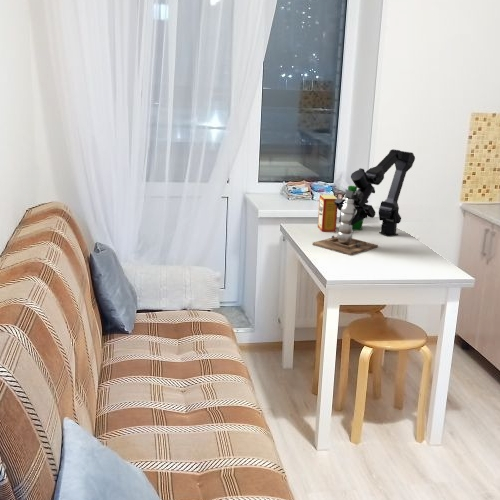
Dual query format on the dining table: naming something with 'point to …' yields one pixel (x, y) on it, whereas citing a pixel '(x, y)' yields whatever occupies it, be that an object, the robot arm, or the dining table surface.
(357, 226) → the milk carton
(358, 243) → the walnut bottle stand
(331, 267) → the dining table surface
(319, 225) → the baking soda box
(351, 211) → the plastic bottle
